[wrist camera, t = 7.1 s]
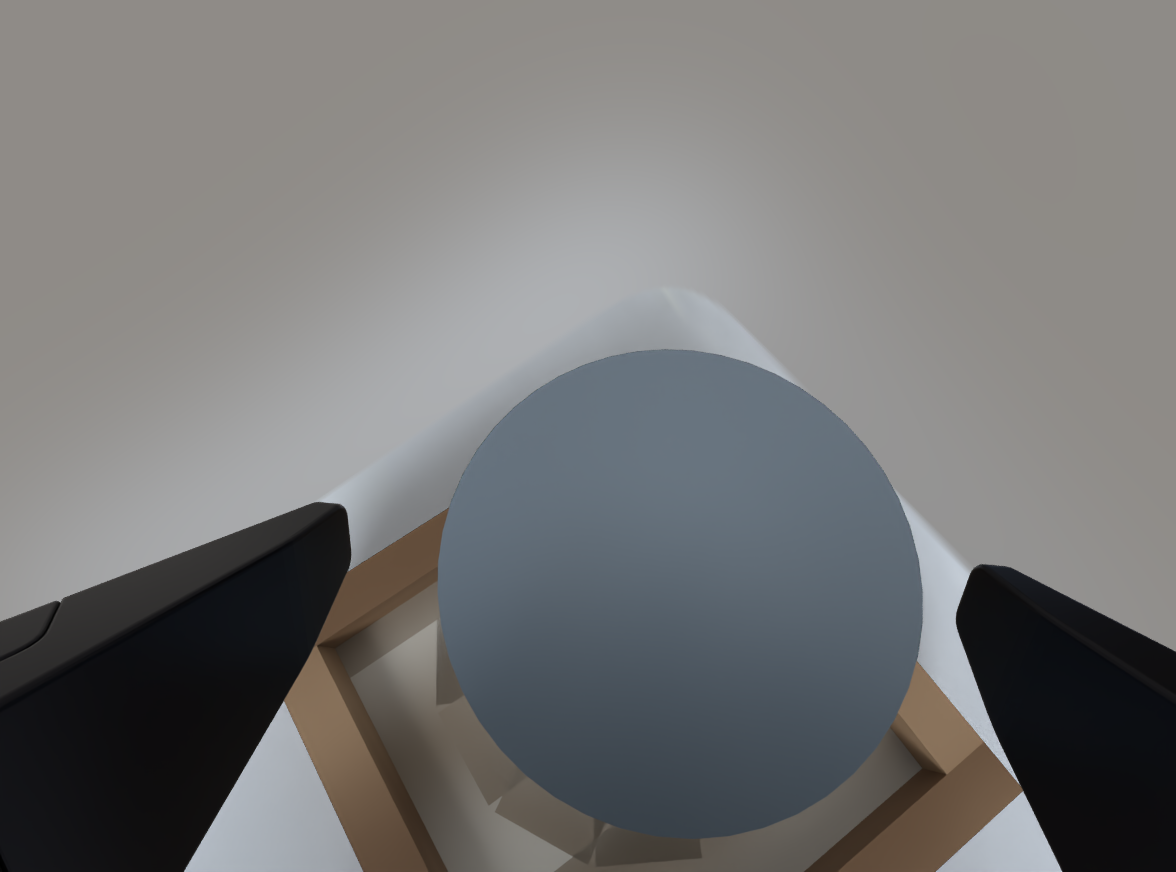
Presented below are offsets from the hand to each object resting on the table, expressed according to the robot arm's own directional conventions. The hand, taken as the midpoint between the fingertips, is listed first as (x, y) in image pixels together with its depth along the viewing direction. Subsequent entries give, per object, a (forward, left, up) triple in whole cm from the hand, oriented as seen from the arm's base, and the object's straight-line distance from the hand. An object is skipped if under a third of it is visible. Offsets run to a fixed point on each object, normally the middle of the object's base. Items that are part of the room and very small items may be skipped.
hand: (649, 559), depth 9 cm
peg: (-1, 0, -8) cm, 8 cm away
